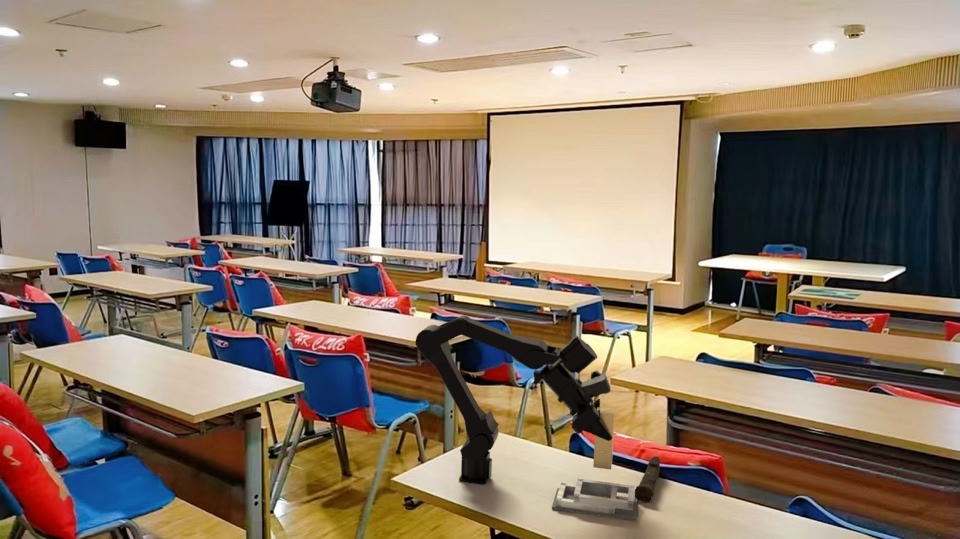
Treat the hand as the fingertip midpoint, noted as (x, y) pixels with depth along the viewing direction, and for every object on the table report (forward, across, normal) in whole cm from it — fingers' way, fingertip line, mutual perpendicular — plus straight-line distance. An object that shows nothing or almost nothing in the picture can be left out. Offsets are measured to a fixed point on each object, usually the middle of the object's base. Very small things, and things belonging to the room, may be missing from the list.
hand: (610, 436), depth 153 cm
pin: (+4, 0, +6) cm, 7 cm away
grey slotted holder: (+8, -7, +11) cm, 16 cm away
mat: (+8, -7, +11) cm, 16 cm away
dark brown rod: (+16, +6, +3) cm, 18 cm away
